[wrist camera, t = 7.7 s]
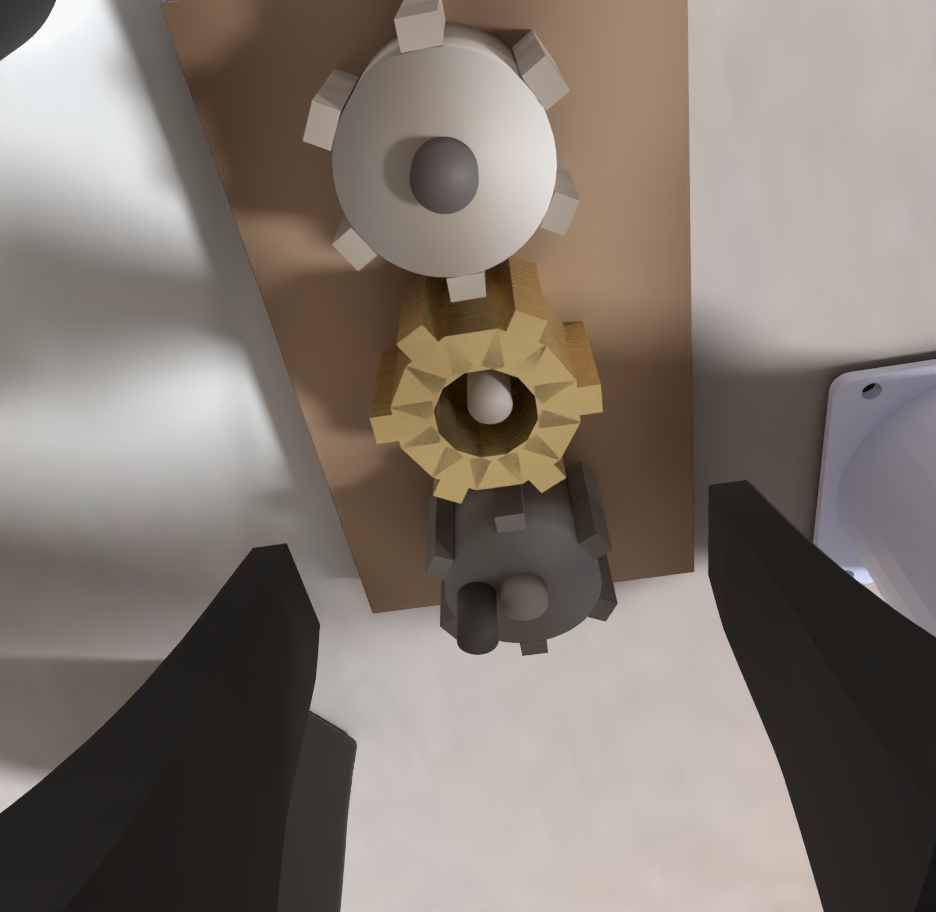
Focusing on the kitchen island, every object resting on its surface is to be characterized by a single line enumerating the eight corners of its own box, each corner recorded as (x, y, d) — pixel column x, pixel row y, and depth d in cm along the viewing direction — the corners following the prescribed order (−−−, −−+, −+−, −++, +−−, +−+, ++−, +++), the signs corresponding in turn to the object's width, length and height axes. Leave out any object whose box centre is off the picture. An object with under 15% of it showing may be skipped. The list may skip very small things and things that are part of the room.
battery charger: (158, 701, 30) (22, 1069, 21) (218, 653, 28) (100, 1027, 19) (305, 776, 33) (244, 1128, 23) (366, 737, 31) (326, 1097, 22)
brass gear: (576, 242, 18) (593, 297, 16) (591, 413, 21) (608, 484, 18) (361, 276, 19) (346, 335, 16) (403, 440, 21) (396, 512, 19)
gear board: (668, -106, 16) (763, -102, 11) (682, 538, 25) (736, 694, 20) (181, -5, 16) (65, 42, 12) (376, 579, 26) (357, 737, 21)
